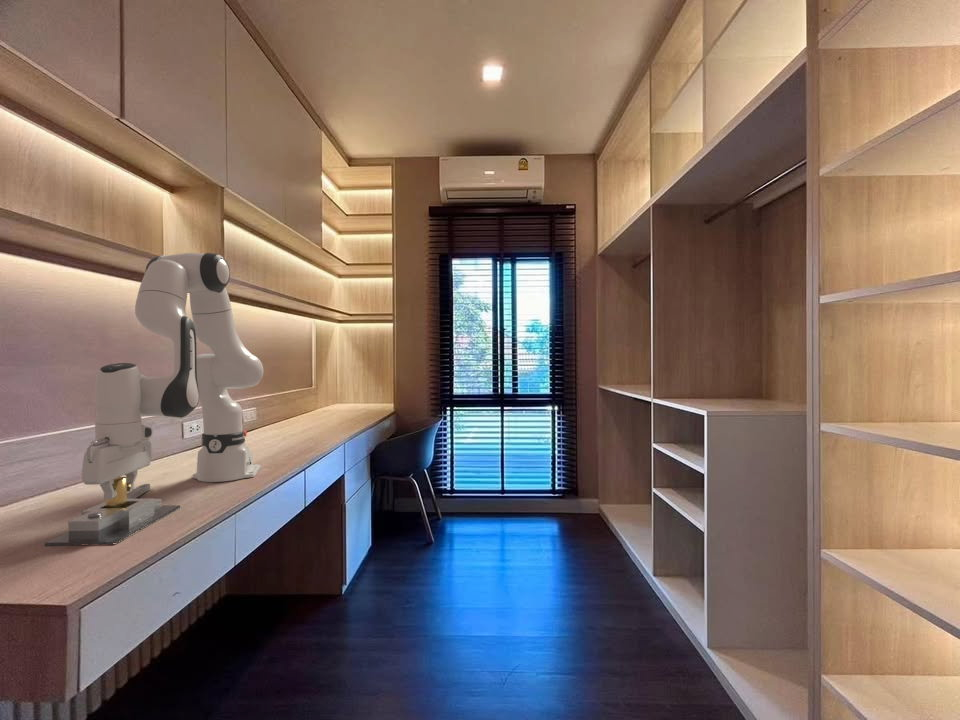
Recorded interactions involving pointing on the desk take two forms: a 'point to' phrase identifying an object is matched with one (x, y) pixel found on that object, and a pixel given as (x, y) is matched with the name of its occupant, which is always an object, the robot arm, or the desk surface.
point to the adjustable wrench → (138, 491)
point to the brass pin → (119, 494)
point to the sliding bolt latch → (112, 522)
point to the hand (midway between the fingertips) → (119, 494)
